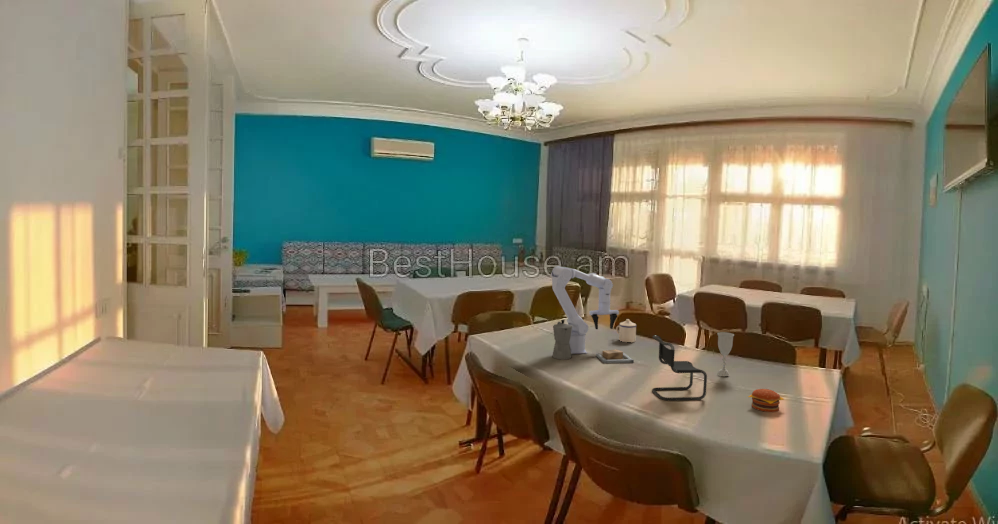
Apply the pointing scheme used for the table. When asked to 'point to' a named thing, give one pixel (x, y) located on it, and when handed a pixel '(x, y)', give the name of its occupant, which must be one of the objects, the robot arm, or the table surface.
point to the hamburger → (765, 400)
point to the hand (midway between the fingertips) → (603, 328)
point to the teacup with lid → (627, 331)
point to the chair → (677, 370)
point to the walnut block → (612, 354)
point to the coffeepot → (562, 340)
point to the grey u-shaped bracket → (626, 360)
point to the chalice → (724, 349)
